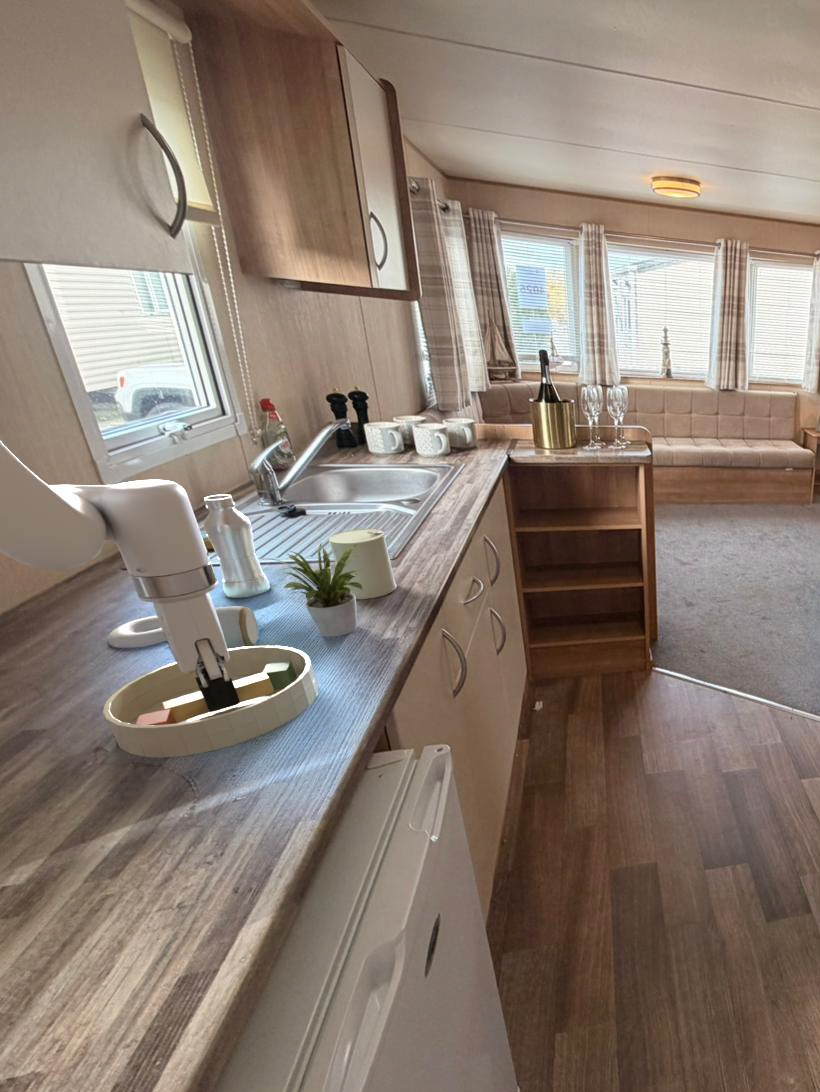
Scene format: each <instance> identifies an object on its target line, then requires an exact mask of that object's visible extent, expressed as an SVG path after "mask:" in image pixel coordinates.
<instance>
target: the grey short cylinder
mask: <svg viewBox="0 0 820 1092" xmlns="http://www.w3.org/2000/svg"><path fill="white" fill-rule="evenodd" d="M214 607H215V606H214ZM215 610H216V613H217V616H218V619H219V622H220V625H221V628H222V631H223V635H224V638H225V641H226V645H227V649H232V648H239V647H248V646H256V644H257V643H258V639H259V627H258V622H257V618H256V616H255V612H253V610H252V609H250V608H249V607H247V606H240V605H239V606H238V605H232V606H217V607H215Z"/></svg>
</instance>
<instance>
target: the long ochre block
mask: <svg viewBox="0 0 820 1092" xmlns="http://www.w3.org/2000/svg"><path fill="white" fill-rule="evenodd" d="M233 684H234V687H235V690H236V692H237V695H238V698H239V701H240V703H241V702H245V701H248V700H251V699H254V698H257V697H260V696H263V695H267V694H270V693H273V692H274V689H273V686H272V683H271V681H270V678H269V676H268V675H267V674H266V672H263V673H259V674H256V675H253V676H249V677H246V678H243V679H239V680H236V681H233ZM162 704H163V707H164V709H165V710H168V709H171V711H172V713H173V716H174V718H175V720H176V723H178V722H182V721H185V720H188V719H191V718H194V717H197V716H201V715H204V714H207V713H210V711H209V709H208V706H207V704H206V701H205V698H204V696H203V693H202V691H199V692H196V693H192V694H189V695H185V696H182V697H179V698H175V699H172V700H169V701H165V702H162Z"/></svg>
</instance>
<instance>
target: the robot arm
mask: <svg viewBox="0 0 820 1092" xmlns="http://www.w3.org/2000/svg"><path fill="white" fill-rule="evenodd" d="M105 542H113V543H115V545H116V546H117V548H118V551H119V553H120V555H121V557H122V560H123V563H124V565H125V567H126V569H127V572H128V575H129V577H130V580H131V582H132V585H133V587H134V589H135V592H136V594H137V596H138V599H139V600H141V601H143V602H148V603H152V605H153V608H154V611H155V614H156V616H157V617H158V619H159V622H160V625H161V627H162V630H163V632H164V635H165V637H166V639H167V641H166V642H167V644H168V648H169V649H170V651H171V654H172V657H173V658H174V661H175V662H176V663H177V665H178V667H179V669H180V670H181V672H183V673H186V674H188V673H189V672H190V671H194V670H195V673H196V675H197V676H199V677H195V679H196V681H197V684H198V686H199V689H200V691H202V693H203V696H204V698H205V701H206V704H207V706H208V709H209V711H210V712H216V711H219V710H222V709H225V708H229V707H232V706H235V705H238V704H239V703H240V701H239V698H238V695H237V692H236V690H235V687H234V684H233V682H232V679H231V678H229V676H228V673H227V671H226V668H225V665H224V662H225V663H227V662H228V661H229V660H230V656H229V652H228V649H227V645H226V641H225V638H224V635H223V631H222V628H221V625H220V622H219V619H218V616H217V613H216V610H215V605H214V602H213V599H212V596H211V594H210V592H211V591H214V590H215V589H217V588H218V586H219V580H218V577H217V576H216V572H215V569H214V567H213V563H212V561H211V559H210V555H209V552H208V549H207V547H206V543H205V541H204V538H203V535H202V533H201V530H200V527H199V524H198V521H197V518H196V515H195V513H194V510H193V507H192V503H191V501H190V498H189V495H188V493H187V491H186V489H185V488H184V487H183V486H181V484H179V483H177V482H175V481H171V480H166V479H165V480H164V479H142V480H132V481H128V482H121V483H116V484H107V485H106V484H105V485H104V484H103V485H102V484H99V485H98V484H97V485H96V484H95V485H94V484H93V485H87V484H85V485H84V484H83V485H82V484H48V483H47V482H45V481H44V480H43V479H41V478H40V477H39V476H38V475H36V474H35V473H34V472H33V471H32V470H30V469H29V468H28V467H27V466H26V465H25V464H24V463H23V462H22V461H20V459H19V458H17V456H15V455H14V454H13V453H12V451H10V449H8V447H7V446H6V445H5V444H4V443H3V442H2V441H1V440H0V553H1V554H2V555H4V556H5V557H7V558H9V559H11V560H12V561H15V562H17V563H19V564H21V565H25V566H27V567H31V568H34V569H38V570H43V571H63V570H71V569H75V568H79V567H82V566H84V565H86V564H88V563H89V562H92V560H94V559H95V558H96V557H98V555H99V554H100V553H101V551H102V549H103V547H104V545H105Z"/></svg>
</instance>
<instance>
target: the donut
mask: <svg viewBox="0 0 820 1092" xmlns="http://www.w3.org/2000/svg"><path fill="white" fill-rule="evenodd" d="M164 642H167V639H166V637H165V635H164V632H163V630H162V627H161V625H160V622H159V619H158V617H157V615H152V616H147V617H142V618H137V619H134V620H131V621H128V622H126V623H124V624H121V625H119V626H117V627H116V628H115V629H113V630H112V631H111V632H110V633H109V635H108V637H107V643H108V646H110V647H113V648H119V649H129V648H131V649H132V648H140V647H147V646H148V647H149V646H153V645H156V644H161V643H164ZM168 648H169V646H167V647H166V649H168Z"/></svg>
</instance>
